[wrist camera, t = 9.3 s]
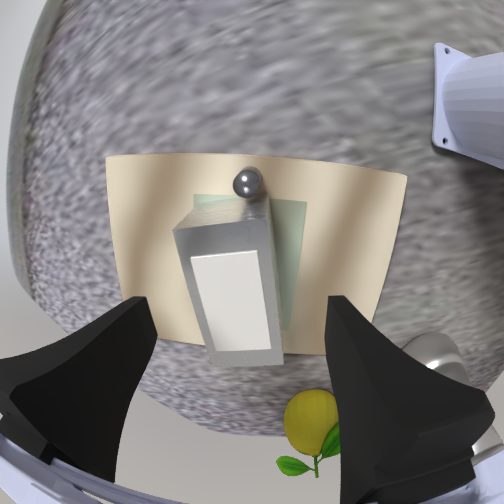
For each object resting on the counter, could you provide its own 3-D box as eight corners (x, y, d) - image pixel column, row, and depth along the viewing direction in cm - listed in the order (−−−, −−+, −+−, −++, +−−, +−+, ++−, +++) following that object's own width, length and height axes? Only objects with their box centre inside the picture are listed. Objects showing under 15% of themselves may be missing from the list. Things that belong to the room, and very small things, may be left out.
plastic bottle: (445, 357, 23) (508, 514, 5) (389, 380, 24) (430, 554, 6) (449, 313, 21) (543, 495, 3) (385, 339, 22) (446, 554, 4)
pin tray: (401, 173, 17) (425, 184, 13) (356, 347, 23) (364, 376, 20) (112, 155, 18) (84, 162, 14) (135, 326, 24) (119, 351, 21)
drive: (268, 193, 17) (265, 218, 12) (283, 315, 20) (283, 365, 16) (198, 202, 17) (171, 230, 13) (224, 319, 21) (212, 368, 16)
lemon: (277, 408, 27) (274, 489, 18) (276, 374, 25) (273, 469, 16) (338, 404, 26) (348, 484, 17) (346, 371, 24) (364, 461, 15)
